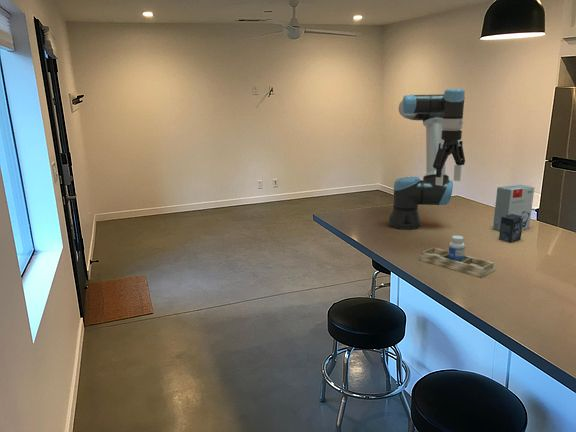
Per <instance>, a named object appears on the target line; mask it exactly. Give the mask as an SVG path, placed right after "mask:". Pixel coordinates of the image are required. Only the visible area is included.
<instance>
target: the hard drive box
mask: <svg viewBox="0 0 576 432" xmlns="http://www.w3.org/2000/svg"><path fill="white" fill-rule="evenodd" d="M534 194H535V187H534V186H529V185H524V184H515V185H506V186H498V187H497V188H496V196H495V207H494V214H493V222H492V223H493V224H492V229H493V230H497V231H499V232H500V225H501V217H502V216H506V215H510V214H515V215H519V216H523V224H522V231H524V230H530V223H531V218H532V217H531V216H532V210H533V209H532V208H533V203H534V201H533V200H534Z"/></svg>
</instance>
